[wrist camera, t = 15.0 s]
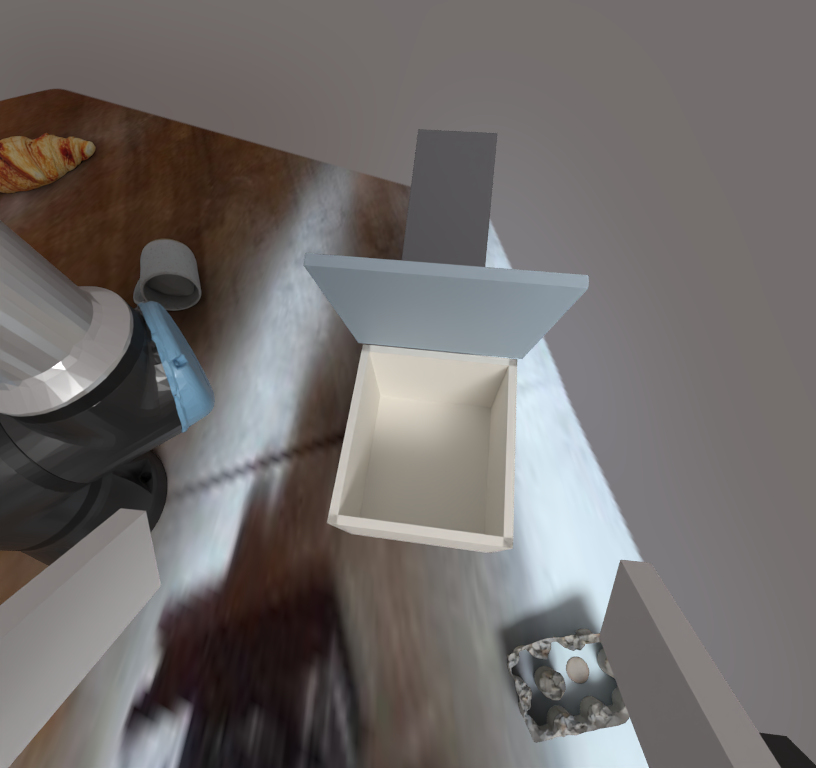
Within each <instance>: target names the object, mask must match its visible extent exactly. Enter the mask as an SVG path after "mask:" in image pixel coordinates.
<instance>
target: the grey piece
mask: <svg viewBox="0 0 816 768" xmlns="http://www.w3.org/2000/svg"><path fill="white" fill-rule="evenodd" d="M575 633H576V635H570V636H565V637H555V636H553V637H551V638H546V639H543V640H540V641H537V642H534V643H532V644H529V645H526V646H524V645H520V646H517V647H515V648H514V650H513V653H512V654H510V655H508V656H507V657H508V660H509V662H508V663H507V666H508V669H509V673H510V674H511V676H512V677H513V678H514V680H515V686H516V690H517V693H518V695H519V698H520V702H519V704H518V705H519V708H520V712H521V714H522V716H523V717H524V720H525V722H526V725H527V727H528V729H529V732H530V734H531V736H532V738H533V740H534V742H536V743H537V742H541V741H546V740H550V739H553V738H555V737H560V736H562V737H565V736H566V735H578V734H581V733H584V732H588V731H594V730H597V729H600V728H607V727H613V726H618V725H621V724H623V723H625V722H626V721H627V720H628V719H629V717H630V716H629V714H628V711H627V708H626V706H625V703H624V701H623V698H622V695H621V693H620V690H619V688H618V685H617V687H616V688H615V689H614V690H613V692H612V705H609V706H606V705H605V704H603V703H602V702H601V701H599V700H598V699H597V698H595V697H593V696H586V697H584V698H583V699H582V701H581V702H580V714H579V715H575V716H572V715H571V714H570V713H569V712H568V711H567V710H565V709H564V708H563V707H561V706H558V705H557V706H552V707H551V708H550V709H549V710H548V713H547V724H545V725H542V726H538V725H537V724H536V722H535V721H534V720H533V718H532V717H530V715H529V714H527V711H528V710H529V709H530V708H531V698H532V692H531V688H530V687H528V686H527V685H526V684H525V682H524V681H523V680H522V679H521V678H520V677H519V676H517V675H513V674H512V670H511V668H512V667H513V666H515V665H516V664H517V663H518V661H519V652H520V651H522V650H525V649H526V650H527V651H529V652H530V653H531V654H532V655H533V656H534V657H536V658H540V659H547V658H548V654H549V652H550V649H551V642H558V643H560V644H561V645H562V646H563V647H565V648H568V649H570V650H573V651H574V650H576V649H578V650H581V649H582V648H583V647H584V646H585V644H589V643H597V642H601V641H600V638H599V636H600V633H599V634H593V633H592V632H591V631H590V630H589V629H579V630H576V631H575ZM597 662H598V665H599V667H600V668H601V670H602V671H603V672H605V673H606V674H608V675H609V676H611V677H613V678H615V677H614V675H613V672H612V669H611V667H610V664H609V662H608V659H607V656H606V654H605V651H604V649H601V650H600V651H599V653H598V655H597ZM566 671H567V674H568V676H569V678H570V679H571V680H572V681H574V682H576V683H584V682H586V680H587V679H588V676H589V668H588V666H587V664H586V663H585V661H584V660H583V659H581V658H579V657H573V658H571V659H569V660H568V662H567V665H566ZM534 678H535V683H536V685H537V687H538V688H539V690H540V691H541V692H542V693H543V694H544V695H545V696H546V697H547V698H550V699H552V700H561V698H562V696H563V694H564V692H565V690H566V686H565V682H564V678H563V676H562V675H561V674H560V673H558V672H556V671H554V670H553V669H552V668H550V667H548V666H541V667H539V668H538V669H537V670H536V672H535V676H534ZM616 683H617V682H616Z"/></svg>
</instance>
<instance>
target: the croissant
mask: <svg viewBox="0 0 816 768" xmlns="http://www.w3.org/2000/svg"><path fill="white" fill-rule="evenodd" d="M94 152H95V146H94V144H93V143H92V142H90V141H85V140H82V139H79V138H75V137H68V138H67V139H65V138H62V137H57V136H54V135H49V134H48V133H45V134H43V135H42V136H40V137H39V138H37V139H33V140H31V139H28V138H26V137H23V136H12V137H10V138H6V139H2V140H0V192H2V193H15V192H19V191H29V190H33V189H36V188H39V187H41V186H44V185H48V184H51V183H53V182H55V181H56V180H58V179H60V178H61V177H62V176H64V175H65V174H66V173H67V172H68V171H71V170H73V169H75V168H76V167H77V165H79V164H80V163H81V161H82V160H87V159H88V158H89V157H91V156H92V155H93V153H94Z"/></svg>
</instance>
